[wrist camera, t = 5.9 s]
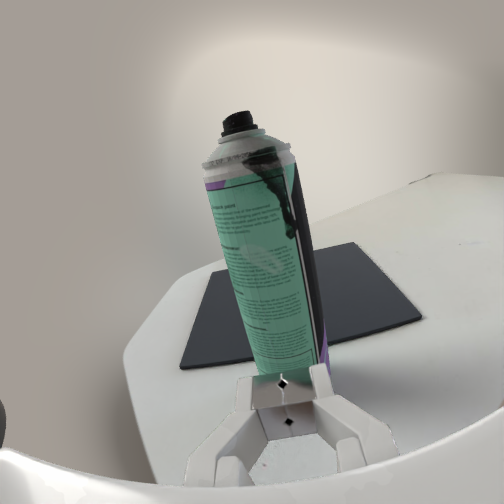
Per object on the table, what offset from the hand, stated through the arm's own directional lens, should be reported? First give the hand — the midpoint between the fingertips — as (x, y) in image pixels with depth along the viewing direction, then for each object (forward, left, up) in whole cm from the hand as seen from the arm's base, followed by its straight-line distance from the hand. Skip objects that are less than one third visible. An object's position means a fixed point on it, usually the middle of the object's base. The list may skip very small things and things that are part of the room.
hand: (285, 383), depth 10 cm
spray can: (0, +10, -10) cm, 14 cm away
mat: (+1, +26, -10) cm, 28 cm away
